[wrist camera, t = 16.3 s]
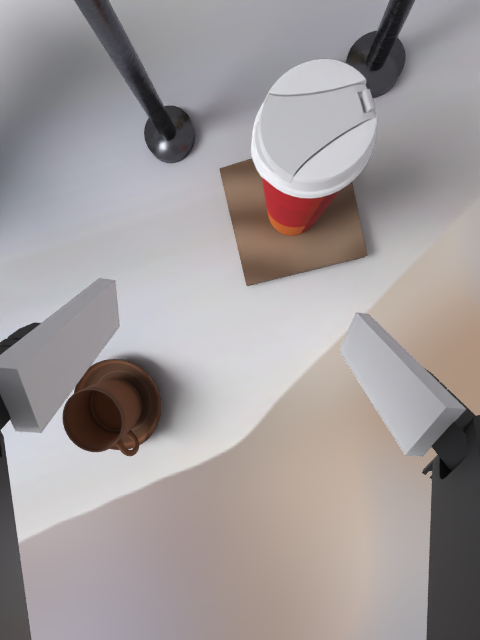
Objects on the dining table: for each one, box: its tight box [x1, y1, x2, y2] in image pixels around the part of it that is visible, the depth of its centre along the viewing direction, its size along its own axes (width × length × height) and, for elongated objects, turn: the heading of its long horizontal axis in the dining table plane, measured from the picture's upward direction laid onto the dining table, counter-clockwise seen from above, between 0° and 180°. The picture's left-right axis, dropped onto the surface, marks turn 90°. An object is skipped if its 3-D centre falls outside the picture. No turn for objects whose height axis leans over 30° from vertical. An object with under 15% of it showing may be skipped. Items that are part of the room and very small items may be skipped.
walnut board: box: [220, 159, 367, 286], centre depth 29 cm, size 14×14×1 cm
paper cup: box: [251, 59, 377, 236], centre depth 21 cm, size 8×8×14 cm
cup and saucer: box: [63, 359, 161, 456], centre depth 30 cm, size 12×12×6 cm
